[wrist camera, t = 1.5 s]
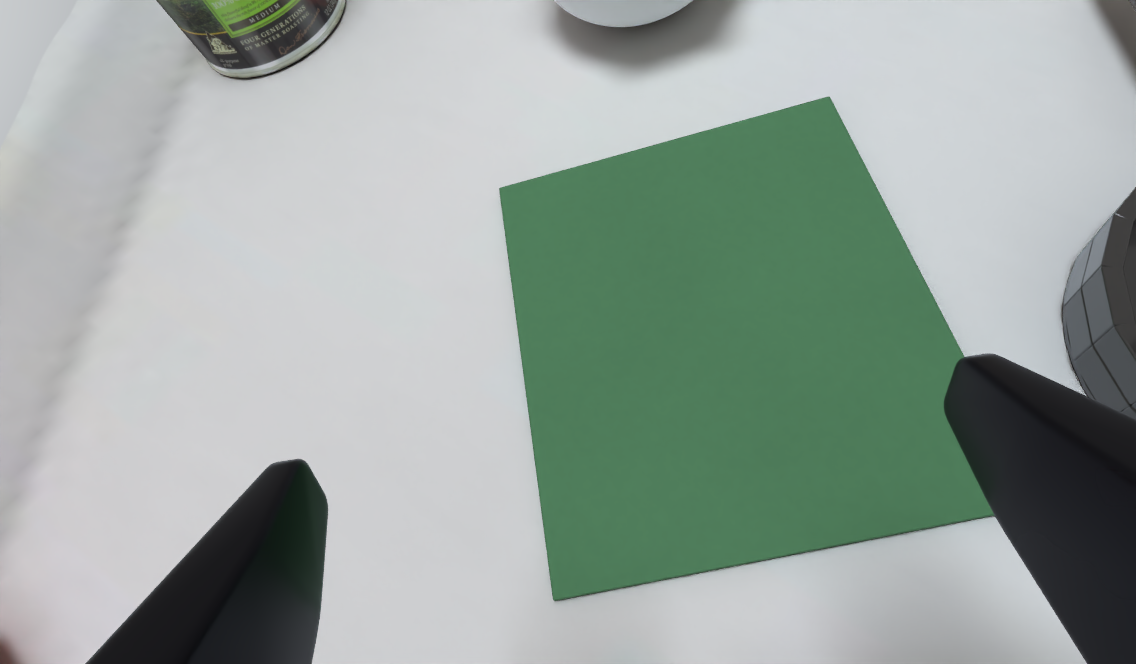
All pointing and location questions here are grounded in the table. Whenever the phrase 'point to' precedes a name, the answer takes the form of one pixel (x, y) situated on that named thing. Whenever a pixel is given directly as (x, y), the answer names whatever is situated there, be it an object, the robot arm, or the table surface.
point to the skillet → (1105, 312)
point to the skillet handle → (1133, 4)
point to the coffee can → (254, 31)
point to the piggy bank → (622, 10)
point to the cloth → (728, 356)
